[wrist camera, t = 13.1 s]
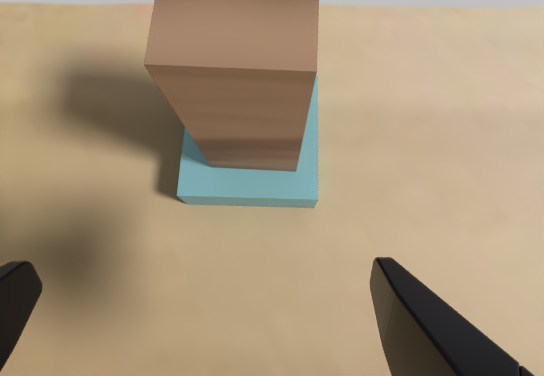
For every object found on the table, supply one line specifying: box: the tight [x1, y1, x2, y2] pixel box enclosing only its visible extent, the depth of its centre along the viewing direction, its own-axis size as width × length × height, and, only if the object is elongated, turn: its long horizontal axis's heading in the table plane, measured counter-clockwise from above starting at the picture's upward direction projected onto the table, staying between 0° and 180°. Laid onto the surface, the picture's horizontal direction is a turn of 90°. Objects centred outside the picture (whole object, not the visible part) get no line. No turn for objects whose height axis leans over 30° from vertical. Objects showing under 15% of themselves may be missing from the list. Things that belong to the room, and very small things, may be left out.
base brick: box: [177, 76, 318, 208], centre depth 23 cm, size 9×9×3 cm
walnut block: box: [144, 0, 319, 172], centre depth 16 cm, size 6×6×11 cm
